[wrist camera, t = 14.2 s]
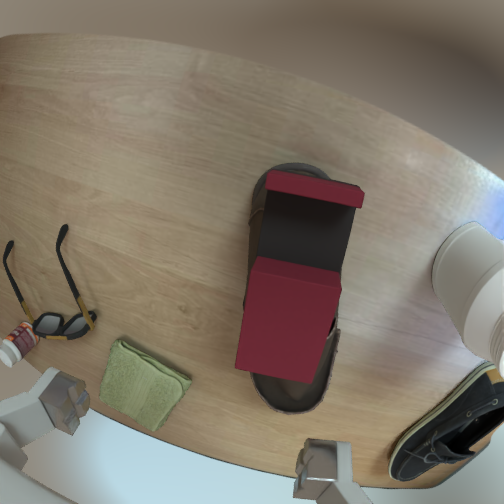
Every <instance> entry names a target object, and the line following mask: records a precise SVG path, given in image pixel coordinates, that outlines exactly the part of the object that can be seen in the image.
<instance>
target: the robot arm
mask: <svg viewBox="0 0 504 504" xmlns="http://www.w3.org/2000/svg"><path fill="white" fill-rule="evenodd" d="M85 388H86V384H85V382H84V381H83V380H81V379H78V378H76V377H74V376H71V375H69V374H67V373H65V372H63V371H61V370H58V369H56V368H54V367H50V368H48V369H47V370H46V371H45V372H44V374H43V375H42V376H41V377H40V379H39V380H38V381H37V382H36V383H35V385H34V386H33V387H32V388H31V390H30V391H29V392H28V393H27V392H23V393H21V394H18V395H16V396H13V397H10V398H8V399H5V400H2V401H0V504H78V503H76V502H74V501H72V500H70V499H68V498H66V497H64V496H62V495H60V494H59V493H57V492H55V491H53V490H52V489H50V488H48V487H46V486H45V485H43V484H41V483H39V482H38V481H36V480H35V479H33V478H31V477H30V476H28V475H27V474H25V473H24V472H22V471H21V470H22V468H23V467H24V465H25V464H26V462H27V460H28V458H27V455H26V454H25V453H24V452H23V450H22V449H21V448H22V447H23V446H25V445H27V444H29V443H31V442H33V441H34V440H36V439H38V438H40V437H42V436H43V435H45V434H47V433H48V432H50V431H52V430H54V429H55V428H57V429H59V430H62V431H63V432H66V433H68V434H70V435H73V434H74V432H75V431H76V429H77V428H78V426H79V424H80V420H79V418H80V417H83V416H85V415H86V413H87V411H88V409H89V406H90V396H89V394H88V393H87V391H86V390H85ZM295 472H296V474H297V475H298V477H297V479H296V480H295V482H294V492H293V498H300V499H310V500H316V502H317V504H373V503H372V502H371V500H370V499H369V498H368V497H367V495H366V494H365V492H364V491H363V490H362V489H361V487H360V486H359V485H358V483H357V482H353V473H352V451H351V444H350V442H343V441H333V440H320V439H310V438H308V439H306V441H305V442H304V448H303V449H301V450H300V452H299V455H298V458H297V462H296V470H295Z"/></svg>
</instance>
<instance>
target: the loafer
mask: <svg viewBox="0 0 504 504" xmlns="http://www.w3.org/2000/svg"><path fill="white" fill-rule="evenodd" d="M273 168H274V169H280V170H286V171H291V172H296V173H301V174H307V175H312V176H316V177H321V178H326V179H330V178H329V177H328V176H327V174H325V173H324V172H323V171H322V170H320V169H319V168H316V167H314V166H311V165H308V164H304V163H286V164H281V165H278V166H275V167H273ZM273 168H271V169H273ZM271 169H269V170H268V171H267V172H265V173H264V174H263V175H262V176H261V178H260V179H259V180H258V182H257V184H256V186H255V189H254V194H253V202H252V210H251V215H250V219H249V223H248V224H249V227H250V235H249V255H248V275H247V284H246V292H245V297H244V301H243V310H244V307H245V301H246V295H247V289H248V283H249V277H250V271H251V269H252V267H253V265H254V263H255V260H256V254H257V248H258V242H259V236H260V230H261V224H262V218H263V212H264V206H265V200H266V194H267V189H265V183H266V177H267V173H268V172H270V170H271ZM341 271H342V268H341ZM341 271H340V275H339V277H340V282H341ZM338 306H339V301H338V305H337V308H336V311H335V315H334V318H333V321H332V324H331V327H330V331H329V334H328V337H327V340H326V343H325V346H324V349H323V352H322V355H321V358H320V361H319V364H318V367H317V370H316V373H315V375H314V378H313V381H312V383H311V384H309V383H303V382H298V381H292V380H287V379H282V378H277V377H272V376H267V375H263V374H258V373H254V372H250V374H251V379H252V382H253V384H254V386H255V389H256V391H257V393H258V394H259V396H260V397H261V398H262V400H263V401H264V402H265V403H266V404H267V405H268V406H269V407H270V408H271V409H273V410H274V411H277V412H280V413H284V414H287V415H291V414H303V413H307V412H310V411H312V410H314V409H315V408H316V407H317V406H318V405H319V404H320V403H321V402H322V401H323V398H324V396H325V395H326V392H327V390H328V387H329V385H330V380H331V377H332V370H333V365H334V360H335V356H336V353H337V352H338V351H337V345H338V342H339V337H340V331H341V330H340V329H337V321H338Z"/></svg>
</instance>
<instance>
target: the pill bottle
mask: <svg viewBox="0 0 504 504" xmlns="http://www.w3.org/2000/svg"><path fill="white" fill-rule="evenodd" d="M32 327H33V326H31V325H30V324H29V323H27V322H23V323H21V324H20V325H19V326H18V327H17V328H16V329H15V330H14V331H13V332H11V333H10V334H9V335H8V336H7V337H6V338H5V339H4V340H3V344H2V345H1V346H0V359H1V360H2V361H3V362H4V363H5V364H6V365H7V366H9V367H12V366H13V365H14V364H15V363H16V362H19V361H21V360H22V359H23V357H24V356H25V355H26V354H27V353H28V352H29V351H30V350H31V349H32V348H33V347H34V346H35V345H36V344H37V343H38V341H39V336H37V335H35V334H34V333H33V331H32Z"/></svg>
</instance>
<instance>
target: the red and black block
mask: <svg viewBox="0 0 504 504" xmlns="http://www.w3.org/2000/svg"><path fill="white" fill-rule="evenodd" d="M265 189H267V194H266V200H265V206H264V212H263V218H262V224H261V230H260V236H259V242H258V248H257V254H256V260H255V263H254V265H253V267H252V269H251V271H250V277H249V283H248V289H247V295H246V301H245V307H244V314H243V320H242V326H241V332H240V338H239V344H238V350H237V356H236V362H235V368H236V369H240V370H245V371H249V372H254V373H258V374H263V375H267V376H272V377H277V378H282V379H287V380H292V381H298V382H303V383H309V384H311V383H312V381H313V378H314V375H315V373H316V370H317V367H318V364H319V361H320V358H321V355H322V352H323V349H324V346H325V343H326V340H327V337H328V334H329V331H330V327H331V324H332V321H333V318H334V315H335V311H336V308H337V305H338V301H339V298H340V294H341V291H342V287H341V282H340V277H339V275H340V271H341V268H342V264H343V260H344V256H345V252H346V248H347V244H348V240H349V236H350V232H351V228H352V223H353V219H354V215H355V210H356V208H362V203H363V199H364V194H365V193H364V192H363V191H362V190H361V189H360V187H359V186H357V185H354V184H349V183H345V182H340V181H336V180H331V179H326V178H321V177H316V176H312V175H307V174H301V173H296V172H291V171H286V170H280V169H274V168H273V169H271V170H270V172H268V173H267V177H266V183H265Z"/></svg>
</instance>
